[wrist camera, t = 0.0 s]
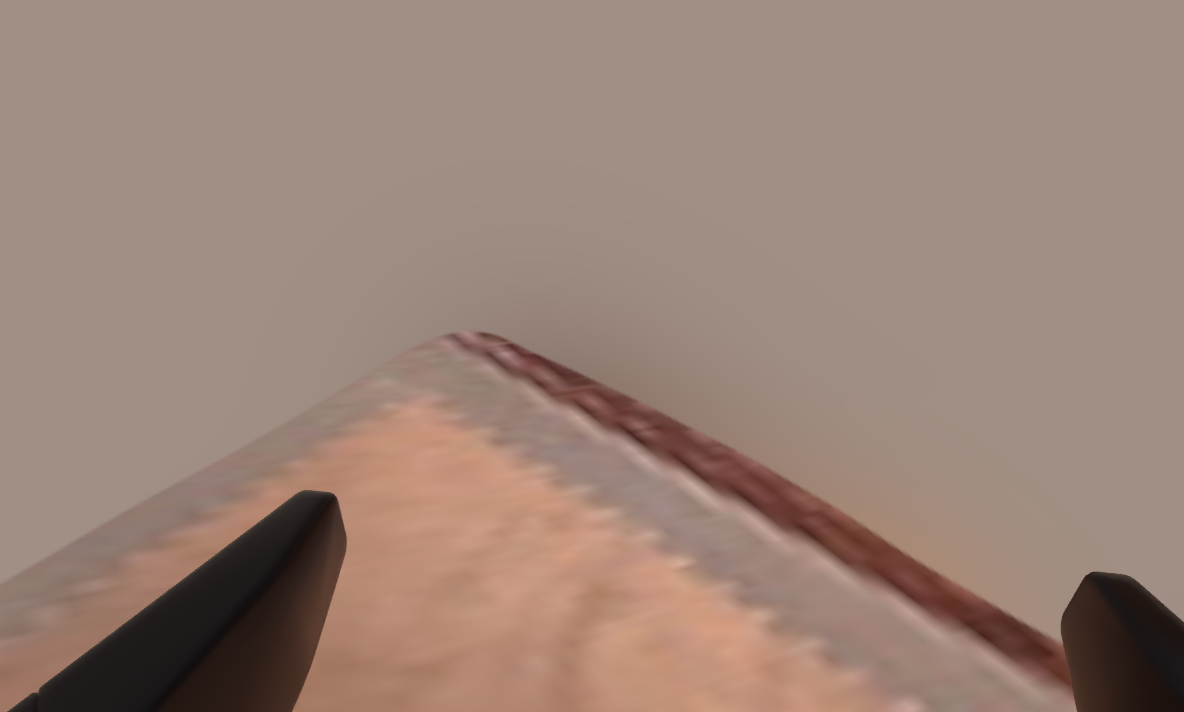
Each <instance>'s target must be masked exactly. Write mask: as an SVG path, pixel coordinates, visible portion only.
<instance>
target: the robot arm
mask: <svg viewBox="0 0 1184 712" xmlns="http://www.w3.org/2000/svg"><path fill="white" fill-rule="evenodd" d="M346 546H347V538H346V532H345V528H344V524H343V519H342V515H341V511H340V507H339V502H338V500H337V497H336V496H335V495H334V494H333V493H330V492H322V491H312V490H304V491H301V492H299V493H297V494H295V495H294V496H293V497H291V498H290V499H289V500H287V501H286V502H285V503H284V504H282V505H281V506H280V507H278V508H277V509H276V510H274V511H273V512H272V513H270V514H269V515H268V516H266V517H265V518H264V519H262V520H261V521H260V522H258V523H257V524H256V525H254V526H253V527H252V528H250V529H249V530H248V531H246V532H245V533H244V534H242V535H241V536H240V537H238V538H237V539H236V540H235V541H233V542H232V543H231V544H229V545H228V546H227V547H225V548H224V549H223V550H221V551H220V552H219V553H217V554H216V555H215V556H213V557H212V558H211V559H209V560H208V561H207V562H205V563H204V564H203V565H201V566H200V567H199V568H197V569H196V570H195V571H193V572H192V573H191V574H189V575H188V576H187V577H186V578H184V579H183V580H182V581H180V582H179V583H178V584H176V585H175V586H174V587H172V588H171V589H170V590H168V591H167V592H166V593H164V594H163V595H162V596H160V597H159V598H158V599H156V600H155V601H154V602H152V603H151V604H150V605H148V606H147V607H146V608H144V609H143V610H142V611H140V612H139V613H138V614H137V615H135V616H134V617H133V618H131V619H130V620H129V621H127V622H126V623H125V624H123V625H122V626H121V627H119V628H118V629H117V630H115V631H114V632H113V633H111V634H110V635H109V636H107V637H106V638H105V639H103V640H102V641H101V642H99V643H98V644H97V645H95V646H94V647H93V648H91V649H90V650H89V651H88V652H86V653H85V654H84V655H82V656H81V657H80V658H78V659H77V660H76V661H74V662H73V663H72V664H70V665H69V666H68V667H66V668H65V669H64V670H62V671H61V672H60V673H58V674H57V675H56V676H54V677H53V678H52V679H50V680H49V681H48V682H46V683H45V684H44V685H42V686H41V687H40V689H39V692H38V693H32V694H30V695H29V696H28V697H26V698H25V699H24V700H22V701H21V702H20V703H18V704H17V705H16V706H14V707H13V708H12V709H10V710H9V711H8V712H292V711H293V708H294V706H295V704H296V701H297V699H298V697H299V694H300V692H301V690H302V687H303V685H304V682H305V680H306V677H307V675H308V672H309V670H310V667H311V664H312V661H313V658H314V655H315V652H316V649H317V646H318V643H319V639H320V636H321V633H322V629H323V626H324V623H325V619H326V616H327V613H328V610H329V606H330V603H331V600H332V596H333V593H334V590H335V587H336V583H337V580H338V577H339V573H340V570H341V567H342V563H343V560H344V557H345V553H346ZM1061 635H1062V641H1063V646H1064V650H1065V655H1066V660H1067V665H1068V670H1069V675H1070V679H1071V684H1072V689H1073V694H1074V699H1075V704H1076V709H1077V712H1184V622H1183V621H1182V620H1181V619H1180V618H1178V617H1177V616H1176V615H1175V614H1174V613H1173V612H1172V611H1170V610H1169V609H1168V608H1167V607H1166V606H1165V605H1164V604H1163V603H1161V602H1160V601H1159V600H1158V599H1157V598H1156V597H1155V596H1153V595H1152V594H1151V593H1150V592H1149V591H1148V590H1146V589H1145V588H1144V587H1143V586H1142V585H1141V584H1140V583H1139V582H1137V581H1136V580H1135V579H1133V578H1131V577H1130V576H1127V575H1123V574H1115V573H1105V572H1091V573H1090V574H1088V575H1086V576H1085V577H1084V579H1083V580H1082V582H1081V584H1080V586H1079V587H1078V589H1077V591H1076V592H1075V594H1074V596H1073V598H1072V599H1071V601H1070V603H1069V604H1068V606H1067V608H1066V609H1065V611H1064V613H1063V616H1062V620H1061Z"/></svg>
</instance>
